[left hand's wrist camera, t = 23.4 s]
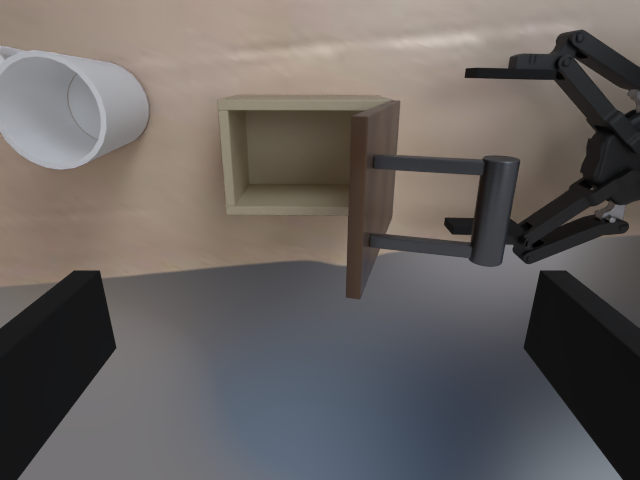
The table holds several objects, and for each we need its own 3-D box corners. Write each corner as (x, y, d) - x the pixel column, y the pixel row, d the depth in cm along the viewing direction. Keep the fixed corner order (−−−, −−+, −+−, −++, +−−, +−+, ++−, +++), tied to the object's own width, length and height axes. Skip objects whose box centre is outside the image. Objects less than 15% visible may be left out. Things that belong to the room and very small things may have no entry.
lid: (345, 297, 23) (501, 319, 21) (350, 115, 20) (538, 121, 18) (382, 216, 37) (480, 225, 35) (390, 100, 33) (498, 102, 31)
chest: (243, 189, 45) (226, 215, 37) (237, 95, 42) (216, 99, 33) (374, 189, 45) (386, 215, 37) (379, 95, 42) (394, 100, 33)
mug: (173, 105, 42) (129, 113, 32) (120, 166, 44) (65, 191, 35) (80, 17, 39) (3, -2, 30) (29, 88, 41) (-58, 91, 32)
